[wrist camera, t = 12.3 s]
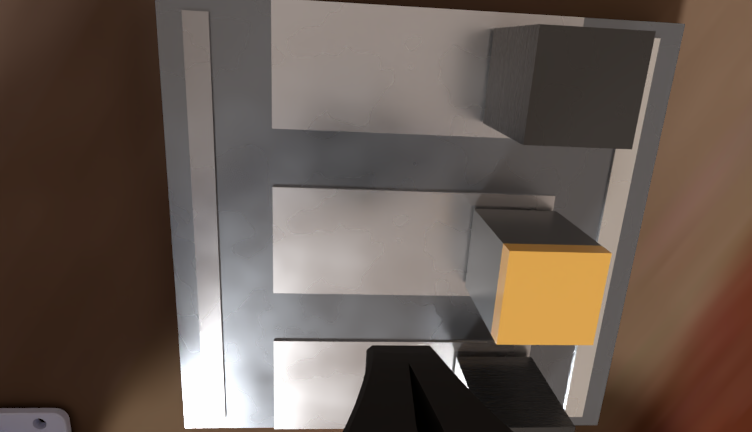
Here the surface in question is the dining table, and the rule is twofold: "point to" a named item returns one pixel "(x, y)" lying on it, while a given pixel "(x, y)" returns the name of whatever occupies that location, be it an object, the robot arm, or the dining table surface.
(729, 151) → the dining table surface
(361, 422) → the robot arm
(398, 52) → the panel
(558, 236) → the block
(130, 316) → the dining table surface
